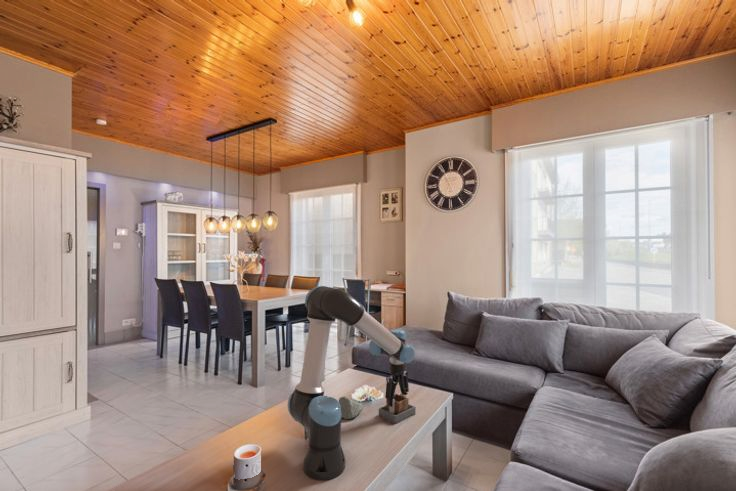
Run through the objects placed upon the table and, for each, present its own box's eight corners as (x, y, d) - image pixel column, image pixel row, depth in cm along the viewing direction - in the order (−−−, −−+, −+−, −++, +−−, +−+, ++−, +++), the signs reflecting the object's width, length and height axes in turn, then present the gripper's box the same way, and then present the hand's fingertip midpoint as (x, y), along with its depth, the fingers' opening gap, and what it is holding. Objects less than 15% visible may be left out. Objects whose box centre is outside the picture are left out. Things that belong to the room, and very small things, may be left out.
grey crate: (395, 424, 157) (395, 416, 157) (378, 415, 165) (378, 408, 165) (415, 414, 167) (415, 406, 167) (398, 406, 175) (398, 399, 175)
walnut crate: (398, 415, 161) (398, 402, 161) (386, 410, 166) (386, 397, 166) (408, 411, 165) (408, 398, 165) (396, 405, 171) (396, 393, 171)
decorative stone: (340, 423, 157) (354, 405, 157) (329, 406, 165) (342, 389, 166) (357, 428, 165) (369, 411, 166) (345, 412, 173) (358, 395, 174)
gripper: (389, 369, 157) (388, 419, 156) (416, 359, 171) (416, 406, 170) (377, 365, 162) (377, 413, 162) (404, 356, 176) (404, 401, 175)
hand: (397, 410), depth 166 cm, fingers closed on walnut crate, 7 cm apart
